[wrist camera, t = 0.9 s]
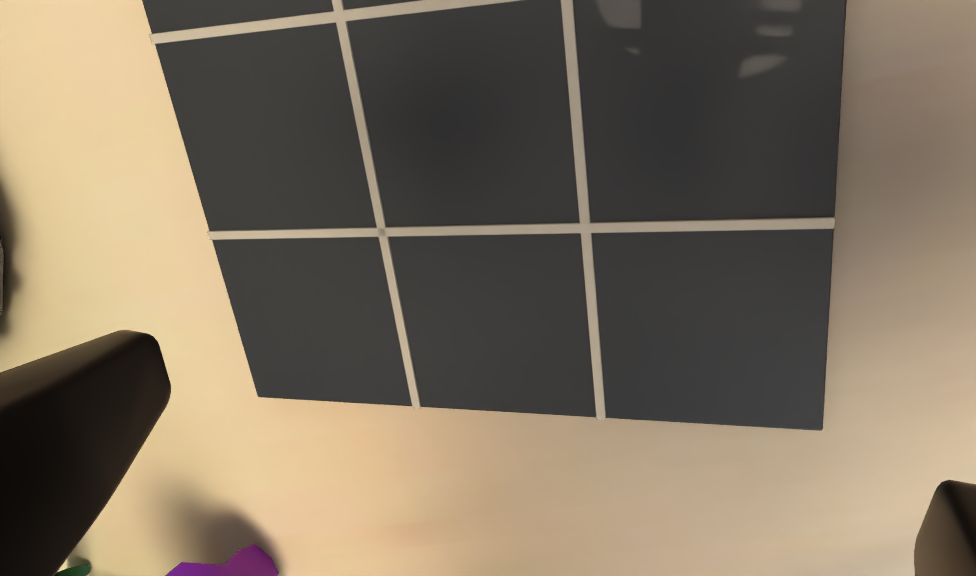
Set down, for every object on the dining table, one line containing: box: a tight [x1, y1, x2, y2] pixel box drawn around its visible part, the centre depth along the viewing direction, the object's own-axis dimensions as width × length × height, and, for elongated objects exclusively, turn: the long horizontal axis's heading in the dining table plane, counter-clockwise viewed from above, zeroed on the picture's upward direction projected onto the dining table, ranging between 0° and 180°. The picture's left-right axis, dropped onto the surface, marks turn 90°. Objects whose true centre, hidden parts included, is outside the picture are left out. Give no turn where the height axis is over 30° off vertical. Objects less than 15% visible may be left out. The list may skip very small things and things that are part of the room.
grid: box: [142, 0, 847, 431], centre depth 22 cm, size 20×20×1 cm
